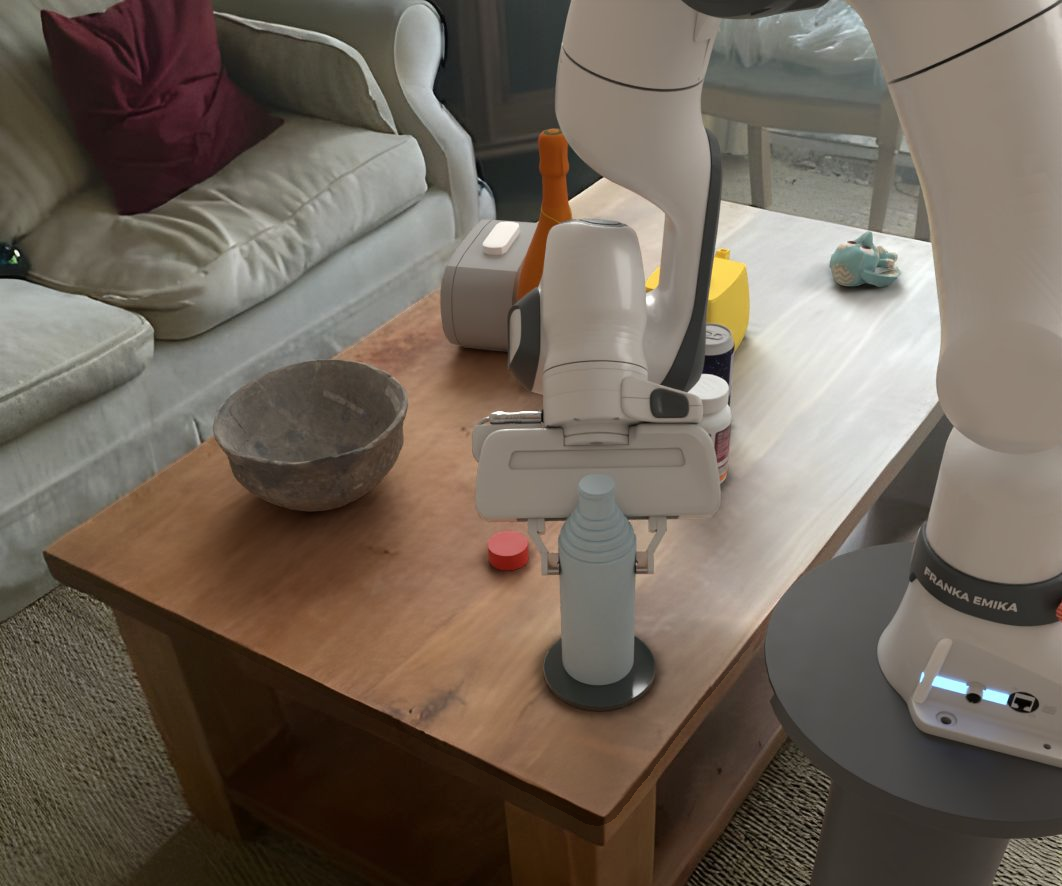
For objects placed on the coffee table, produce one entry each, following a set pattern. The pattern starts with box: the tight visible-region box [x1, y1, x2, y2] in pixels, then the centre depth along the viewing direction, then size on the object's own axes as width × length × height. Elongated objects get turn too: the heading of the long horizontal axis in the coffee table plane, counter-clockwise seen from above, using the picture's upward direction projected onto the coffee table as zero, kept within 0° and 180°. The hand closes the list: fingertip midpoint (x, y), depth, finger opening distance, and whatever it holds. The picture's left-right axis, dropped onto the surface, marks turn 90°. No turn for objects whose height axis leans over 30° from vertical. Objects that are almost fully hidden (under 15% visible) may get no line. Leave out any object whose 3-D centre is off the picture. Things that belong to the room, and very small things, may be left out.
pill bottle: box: [687, 374, 733, 485], centre depth 117 cm, size 6×6×11 cm
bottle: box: [557, 474, 637, 685], centre depth 92 cm, size 6×6×20 cm
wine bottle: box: [518, 128, 573, 301], centre depth 128 cm, size 10×10×30 cm
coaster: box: [543, 635, 656, 712], centre depth 98 cm, size 10×10×1 cm
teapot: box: [645, 247, 751, 354], centre depth 139 cm, size 20×12×12 cm, turn 150°
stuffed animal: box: [828, 230, 901, 288], centre depth 152 cm, size 11×7×12 cm
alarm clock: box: [439, 218, 538, 353], centre depth 143 cm, size 21×10×13 cm, turn 164°
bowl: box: [212, 358, 409, 512], centre depth 119 cm, size 21×21×10 cm
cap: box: [487, 530, 530, 571], centre depth 110 cm, size 4×4×2 cm
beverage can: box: [702, 323, 735, 408], centre depth 124 cm, size 6×6×12 cm
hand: (598, 574), depth 90 cm, fingers closed on bottle, 6 cm apart
